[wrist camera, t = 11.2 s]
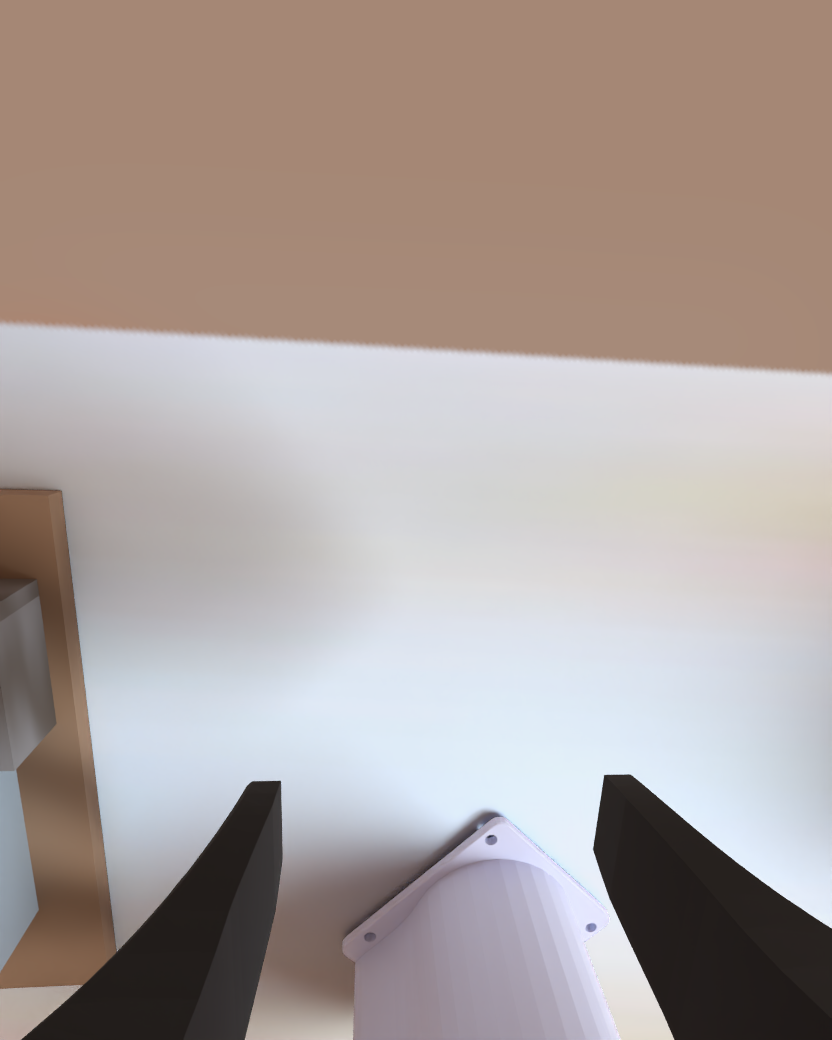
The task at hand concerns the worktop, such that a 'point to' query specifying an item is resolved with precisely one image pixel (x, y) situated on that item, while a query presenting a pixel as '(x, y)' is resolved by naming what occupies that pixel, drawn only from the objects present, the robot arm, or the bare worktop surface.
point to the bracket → (50, 748)
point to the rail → (14, 869)
